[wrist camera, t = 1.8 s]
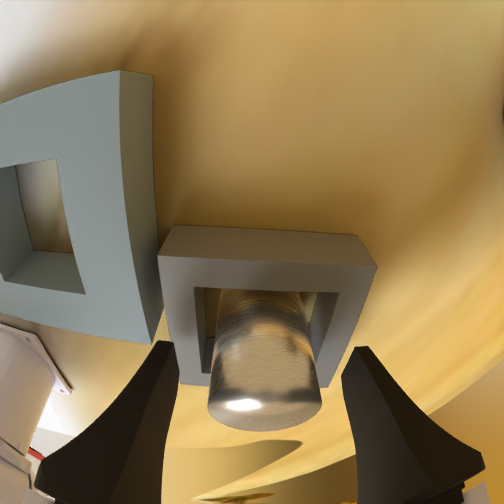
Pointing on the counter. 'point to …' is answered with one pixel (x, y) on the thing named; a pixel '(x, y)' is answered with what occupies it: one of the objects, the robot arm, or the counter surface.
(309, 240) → the pin mount
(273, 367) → the steel pin
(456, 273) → the counter surface
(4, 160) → the socket block
